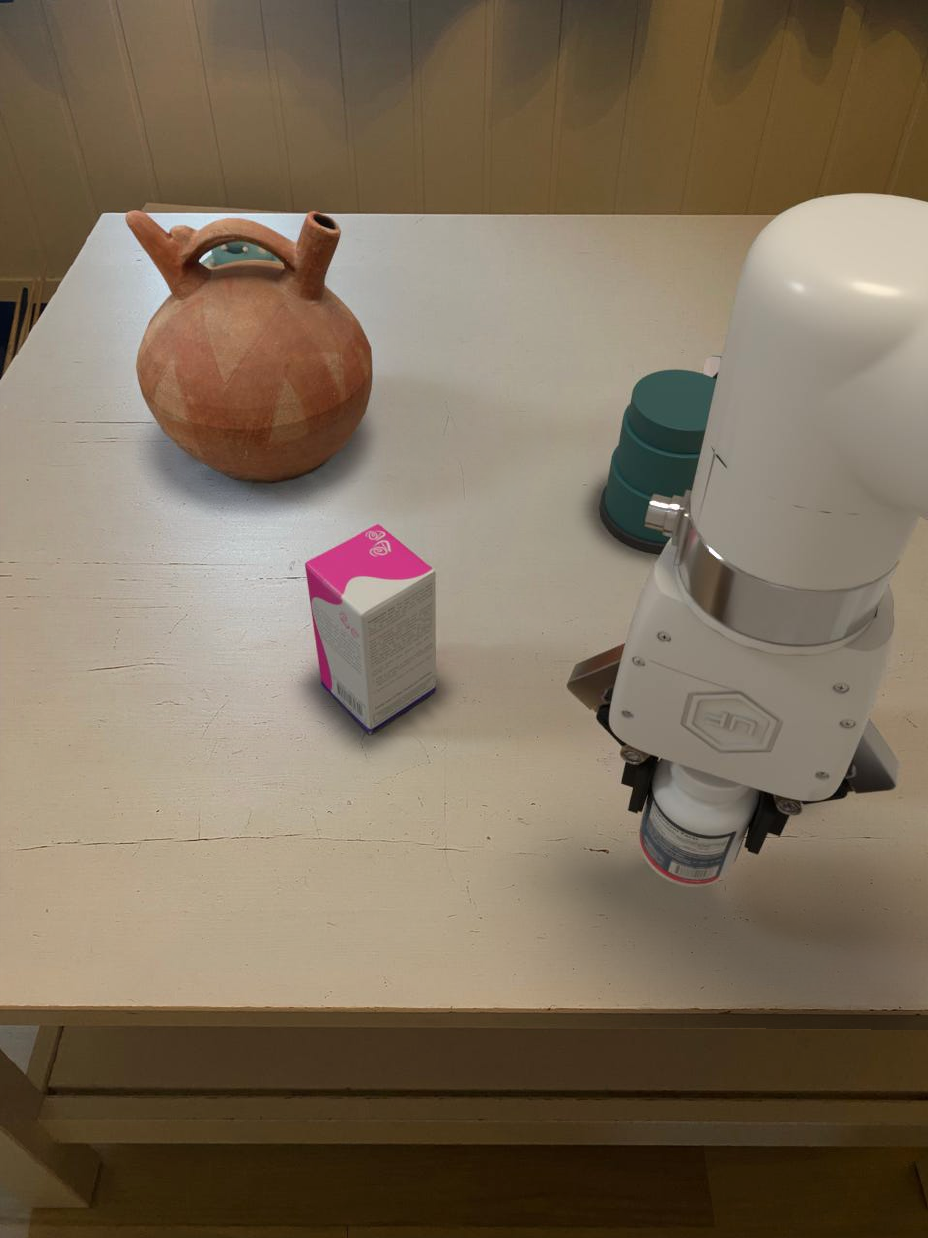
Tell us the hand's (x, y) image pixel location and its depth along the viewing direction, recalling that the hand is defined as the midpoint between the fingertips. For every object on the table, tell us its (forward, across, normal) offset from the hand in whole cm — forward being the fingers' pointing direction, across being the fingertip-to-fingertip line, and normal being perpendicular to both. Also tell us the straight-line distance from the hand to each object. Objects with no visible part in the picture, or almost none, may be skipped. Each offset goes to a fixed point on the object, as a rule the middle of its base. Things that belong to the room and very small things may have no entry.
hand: (698, 807), depth 48 cm
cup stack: (+8, -9, +31) cm, 33 cm away
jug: (+7, -42, +26) cm, 50 cm away
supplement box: (+8, -22, +6) cm, 24 cm away
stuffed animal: (+7, -57, +46) cm, 74 cm away
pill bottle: (+4, 0, 0) cm, 4 cm away
